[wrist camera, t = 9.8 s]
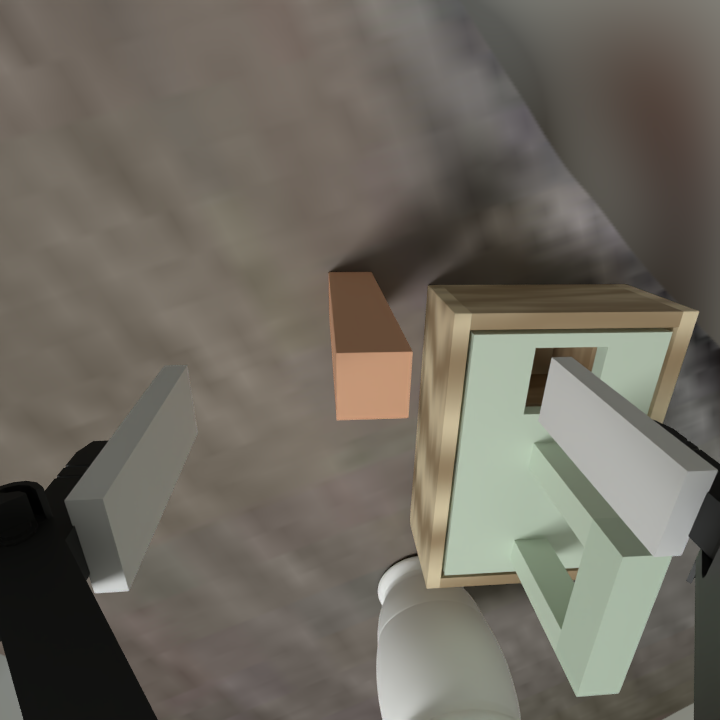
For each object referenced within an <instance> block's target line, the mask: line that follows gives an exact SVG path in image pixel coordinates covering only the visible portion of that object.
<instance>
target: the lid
mask: <svg viewBox="0 0 720 720" xmlns="http://www.w3.org/2000/svg"><path fill="white" fill-rule="evenodd" d="M672 333H673V332H671V331H669V330H667V329H665V328H589V329H510V330H470V334H469V342H468V351H467V359H466V367H465V376H464V384H463V393H462V401H461V410H460V418H459V427H458V435H457V444H456V452H455V460H454V469H453V477H452V486H451V494H450V503H449V511H448V520H447V528H446V537H445V545H444V553H443V562H442V568H443V571H444V575H461V574H479V573H496V572H513V571H516V573H517V575H518V577H519V579H520V581H521V583H522V585H523V587H524V590H525V592H526V594H527V596H528V598H529V600H530V602H531V604H532V606H533V608H534V610H535V612H536V614H537V616H538V618H539V620H540V622H541V625H542V627H543V629H544V631H545V633H546V635H547V637H548V639H549V641H550V643H551V645H552V647H553V649H554V651H555V653H556V655H557V657H558V660H559V662H560V664H561V666H562V668H563V670H564V672H565V674H566V676H567V678H568V680H569V682H570V684H571V686H572V688H573V690H574V692H575V695H576V697H579V696H592V695H604V694H616V693H619V692H620V689H621V687H622V684H623V681H624V679H625V676H626V674H627V671H628V669H629V666H630V664H631V661H632V658H633V656H634V653H635V651H636V648H637V646H638V643H639V640H640V638H641V635H642V633H643V630H644V628H645V625H646V623H647V620H648V617H649V615H650V612H651V610H652V607H653V605H654V602H655V599H656V597H657V594H658V592H659V589H660V587H661V584H662V581H663V579H664V576H665V574H666V571H667V569H668V566H669V564H670V561H671V558H672V556H665V557H653V555H652V554H651V553H650V552H649V551H648V550H647V548H646V547H645V546H644V545H643V544H642V542H641V541H640V540H639V539H638V538H637V537H636V535H635V534H634V533H633V532H632V531H631V530H630V528H629V527H628V526H627V525H626V524H625V522H624V521H623V520H622V519H621V518H620V517H619V515H618V514H617V513H616V512H615V511H614V509H613V508H612V507H611V506H610V505H609V504H608V502H607V501H606V500H605V499H604V498H603V497H602V495H601V494H600V493H599V492H598V491H597V489H596V488H595V487H594V486H593V485H592V484H591V482H590V481H589V480H588V479H587V478H586V477H585V475H584V474H583V473H582V472H581V471H580V469H579V468H578V467H577V466H576V465H575V464H574V462H573V461H572V460H571V459H570V458H569V456H568V455H567V454H566V453H565V452H564V451H563V449H562V448H561V447H560V446H559V445H558V444H557V442H556V441H555V440H554V439H553V438H552V436H551V435H550V434H549V433H548V432H547V431H546V429H545V428H544V427H543V426H542V425H541V424H540V422H539V421H538V419H539V415H540V410H541V406H532V407H525V404H526V399H527V393H528V388H529V382H530V377H531V371H532V366H533V360H534V355H535V349H536V348H566V347H597V351H596V355H595V360H594V364H593V368H592V373H593V374H594V375H596V376H597V377H598V378H599V379H601V380H602V381H603V382H605V383H606V384H607V385H609V386H610V387H611V388H612V389H614V390H615V391H616V392H618V393H619V394H620V395H621V396H623V397H624V398H625V399H627V400H628V401H629V402H631V403H632V404H633V405H634V406H636V407H637V408H638V409H640V410H641V411H642V412H643V413H645V414H646V415H647V414H648V410H649V407H650V404H651V401H652V398H653V394H654V391H655V388H656V385H657V381H658V378H659V375H660V372H661V368H662V365H663V362H664V359H665V355H666V352H667V349H668V346H669V342H670V339H671V336H672ZM566 568H579V569H578V573H577V576H576V580H575V583H574V582H573V580H572V579H571V577H570V575H569V574H568V572H567V571H566Z"/></svg>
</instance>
